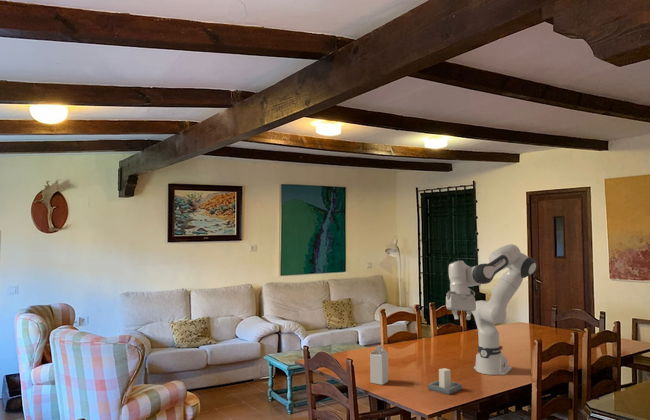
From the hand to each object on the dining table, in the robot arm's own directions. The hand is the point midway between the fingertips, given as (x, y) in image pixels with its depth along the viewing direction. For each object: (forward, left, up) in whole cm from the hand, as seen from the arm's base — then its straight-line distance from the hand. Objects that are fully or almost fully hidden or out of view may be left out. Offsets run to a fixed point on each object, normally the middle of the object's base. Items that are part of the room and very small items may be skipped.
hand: (462, 319), depth 245 cm
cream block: (+5, -8, -34) cm, 36 cm away
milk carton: (+19, -39, -35) cm, 56 cm away
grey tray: (+5, -8, -35) cm, 36 cm away
